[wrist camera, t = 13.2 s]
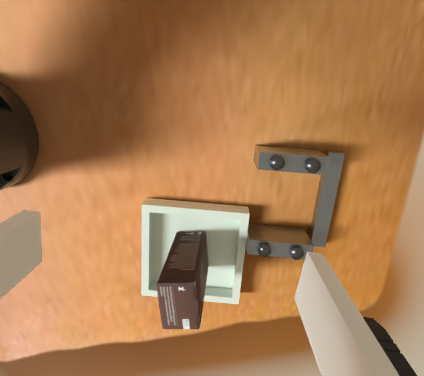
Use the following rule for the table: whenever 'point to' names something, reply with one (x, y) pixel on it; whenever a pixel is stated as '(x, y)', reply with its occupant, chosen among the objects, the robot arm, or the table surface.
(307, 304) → the robot arm
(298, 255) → the hitch bracket
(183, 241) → the box
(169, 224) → the tray
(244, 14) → the table surface
